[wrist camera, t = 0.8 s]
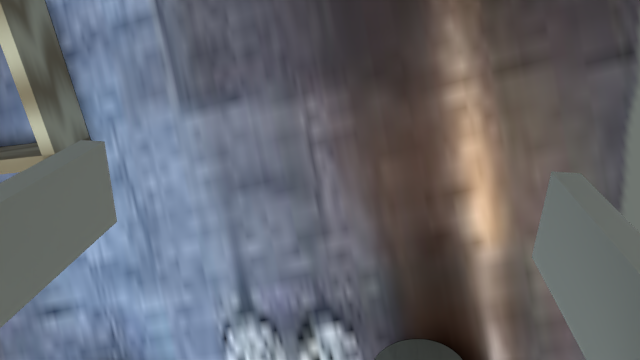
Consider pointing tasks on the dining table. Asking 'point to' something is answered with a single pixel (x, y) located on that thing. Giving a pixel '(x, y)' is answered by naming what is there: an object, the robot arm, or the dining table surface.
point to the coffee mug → (417, 351)
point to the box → (38, 84)
